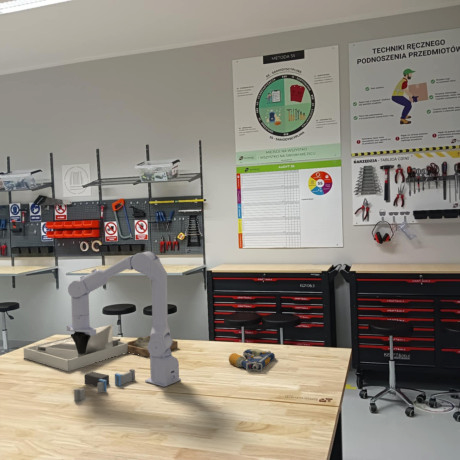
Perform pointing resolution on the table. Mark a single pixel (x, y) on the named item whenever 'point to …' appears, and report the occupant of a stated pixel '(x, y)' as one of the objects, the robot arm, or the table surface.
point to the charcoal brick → (95, 378)
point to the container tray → (75, 362)
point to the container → (68, 347)
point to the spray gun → (252, 359)
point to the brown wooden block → (144, 352)
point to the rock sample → (142, 342)
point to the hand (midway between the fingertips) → (81, 353)
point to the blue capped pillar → (102, 387)
